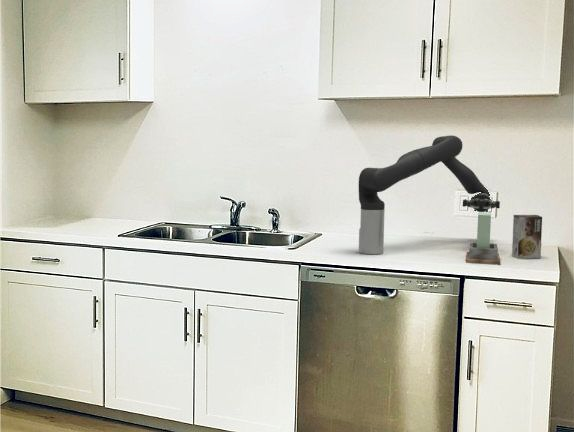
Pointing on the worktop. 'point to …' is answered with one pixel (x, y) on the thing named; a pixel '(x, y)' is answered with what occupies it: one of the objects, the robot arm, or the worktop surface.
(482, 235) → the block
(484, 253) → the gray frame wooden base
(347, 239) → the worktop surface
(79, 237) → the worktop surface
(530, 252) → the coffee box
